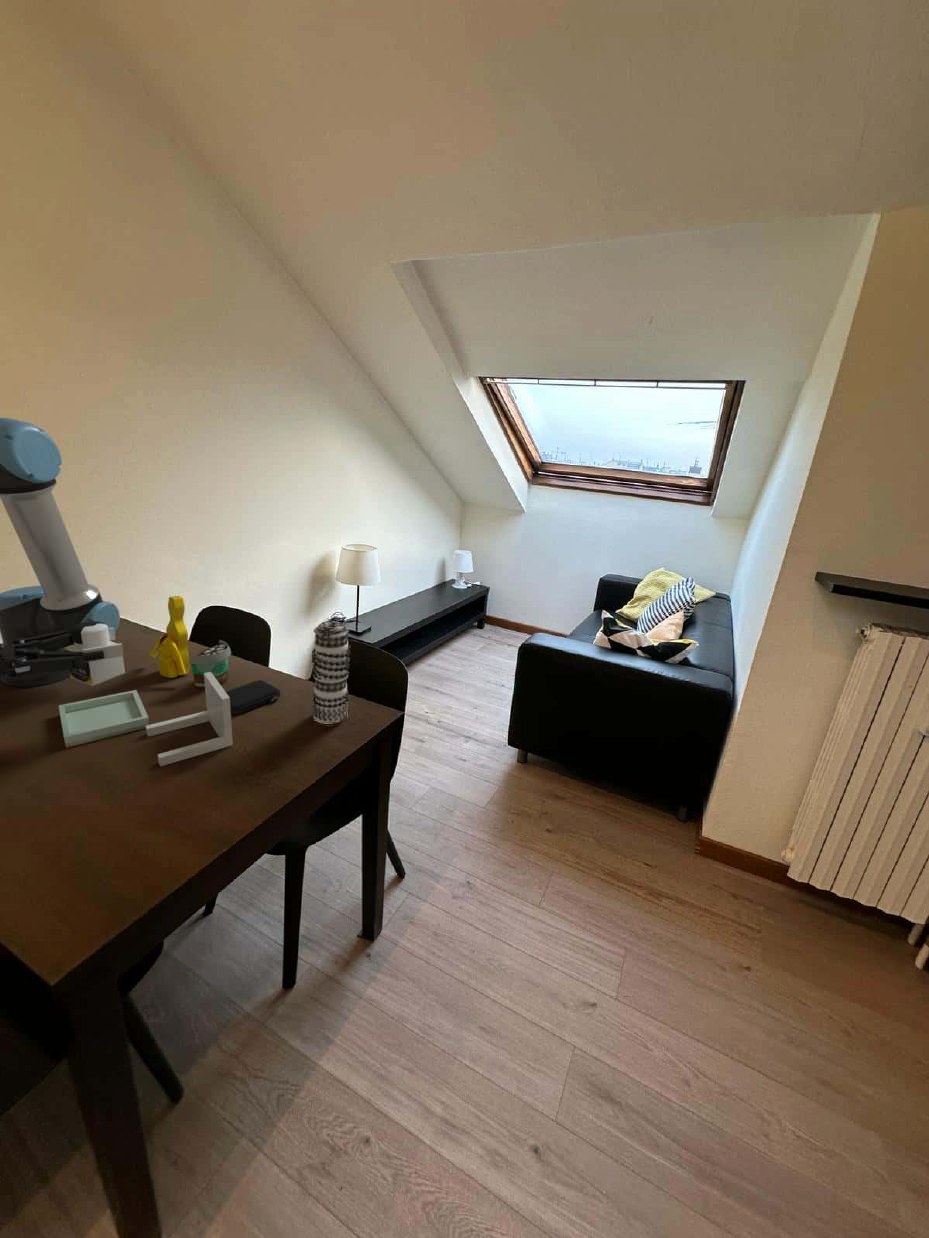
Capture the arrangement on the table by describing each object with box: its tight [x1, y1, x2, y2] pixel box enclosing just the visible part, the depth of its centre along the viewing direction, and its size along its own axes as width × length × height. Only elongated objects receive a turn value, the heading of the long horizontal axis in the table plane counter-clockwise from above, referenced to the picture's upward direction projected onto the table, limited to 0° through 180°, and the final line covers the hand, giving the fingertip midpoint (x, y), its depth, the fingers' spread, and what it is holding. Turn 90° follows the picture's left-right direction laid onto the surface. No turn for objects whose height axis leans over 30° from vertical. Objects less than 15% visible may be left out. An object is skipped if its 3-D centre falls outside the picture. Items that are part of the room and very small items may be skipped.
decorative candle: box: [311, 620, 352, 724], centre depth 119 cm, size 9×9×25 cm
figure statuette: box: [148, 595, 191, 679], centre depth 132 cm, size 18×8×22 cm, turn 58°
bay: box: [145, 672, 234, 767], centre depth 106 cm, size 14×14×12 cm
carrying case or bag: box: [225, 679, 281, 716], centre depth 125 cm, size 11×3×15 cm
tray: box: [58, 689, 150, 748], centre depth 111 cm, size 15×15×2 cm
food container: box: [189, 639, 232, 690], centre depth 131 cm, size 12×6×10 cm, turn 168°
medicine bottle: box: [65, 621, 126, 687], centre depth 104 cm, size 7×7×12 cm
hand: (118, 641), depth 106 cm, fingers closed on medicine bottle, 9 cm apart
